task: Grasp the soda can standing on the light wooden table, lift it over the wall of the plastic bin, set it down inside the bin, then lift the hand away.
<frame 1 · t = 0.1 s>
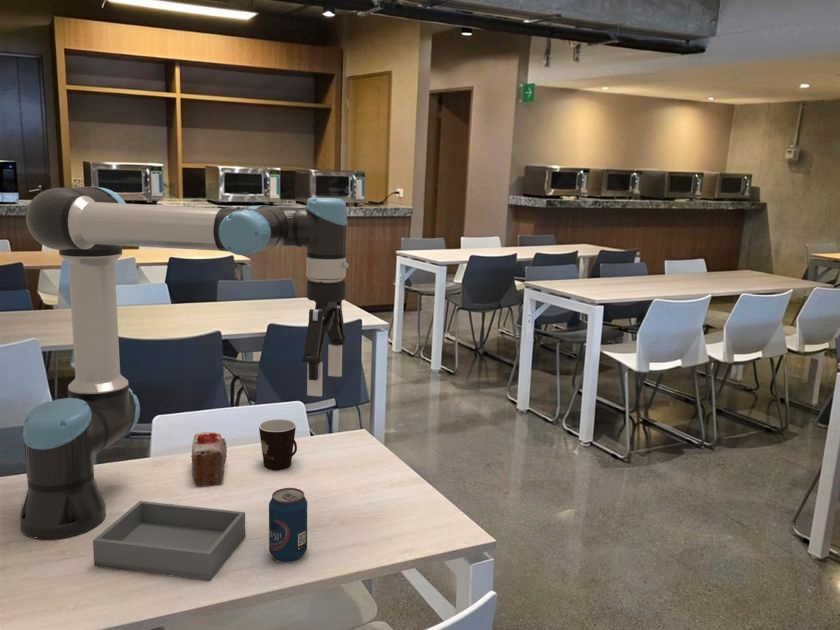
hand: (325, 385, 143), 28 cm above the table, tool pointing down, fingers open, 13 cm apart
coffee mug: (278, 468, 171), on the table
food item: (209, 475, 166), on the table
bin: (173, 550, 133), on the table
soda can: (288, 555, 133), on the table
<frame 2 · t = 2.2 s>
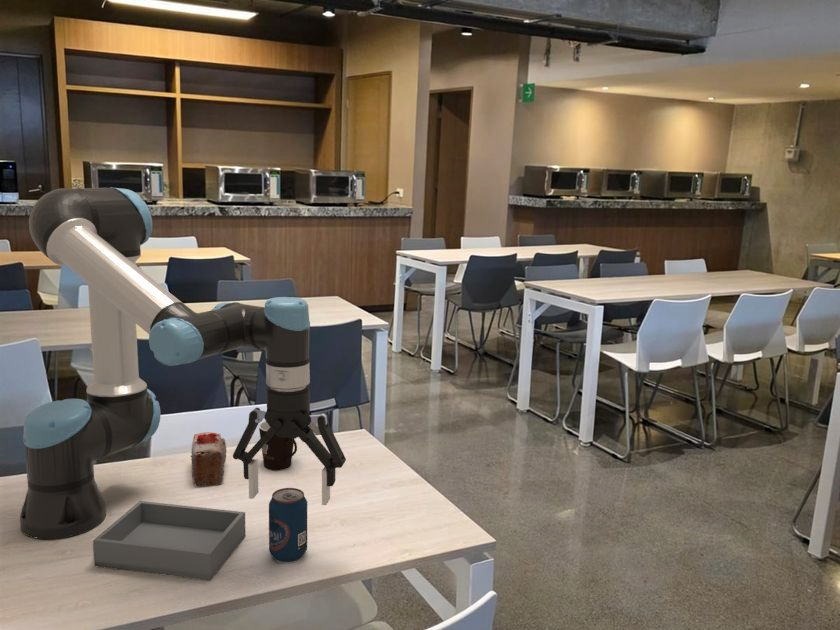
hand: (289, 498, 130), 11 cm above the table, tool pointing down, fingers open, 13 cm apart
nothing on the table moved.
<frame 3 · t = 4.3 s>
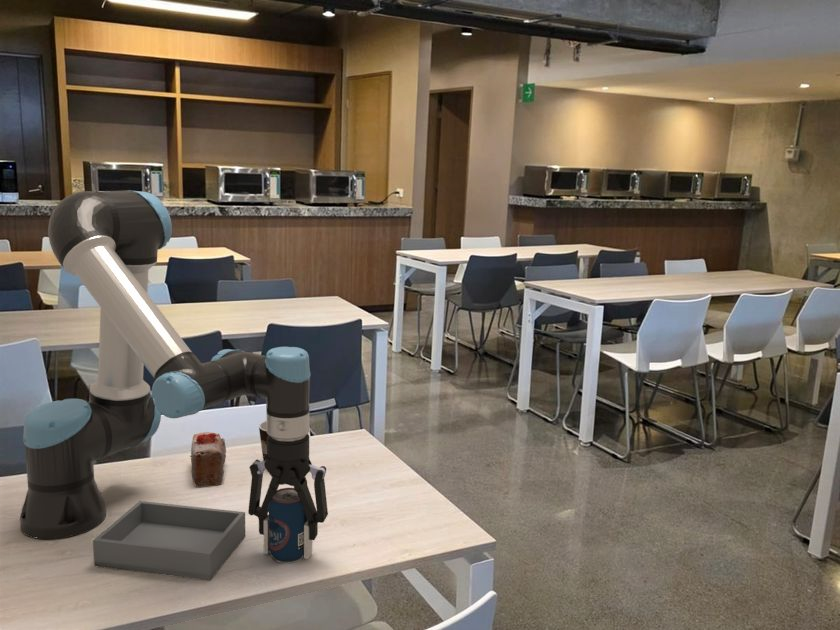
hand: (288, 552, 133), 1 cm above the table, tool pointing down, fingers closed on soda can, 7 cm apart
soda can: (288, 555, 133), on the table, touching gripper
everything else where it was.
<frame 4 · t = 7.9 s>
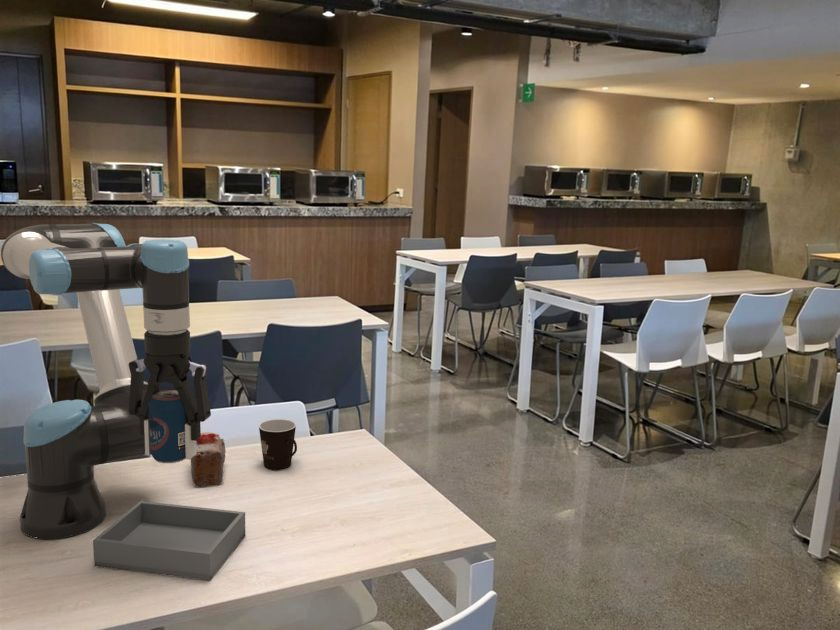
hand: (171, 454, 129), 19 cm above the table, tool pointing down, fingers closed on soda can, 7 cm apart
soda can: (171, 458, 129), point 18 cm above the table, touching gripper
everything else where it was.
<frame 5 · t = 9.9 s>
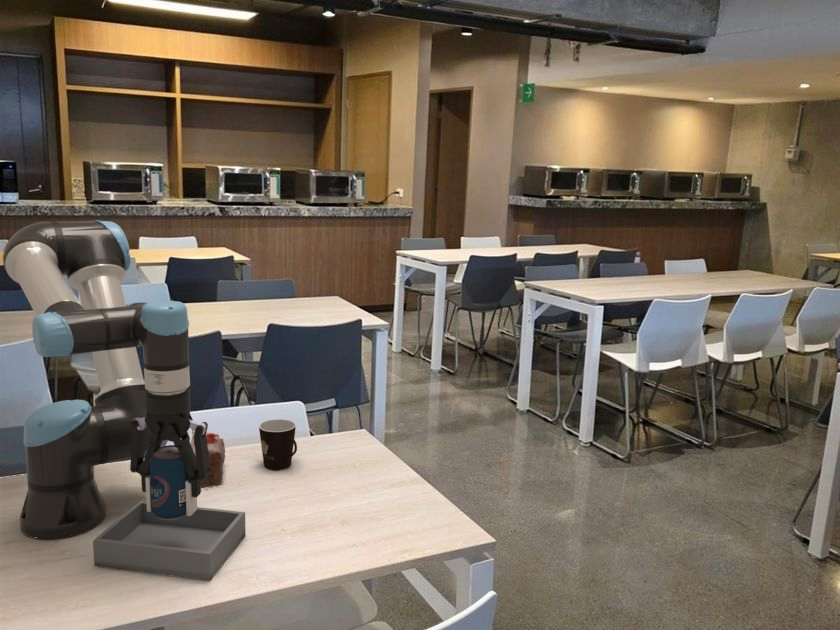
hand: (172, 510, 131), 8 cm above the table, tool pointing down, fingers closed on soda can, 7 cm apart
soda can: (172, 514, 131), point 7 cm above the table, touching gripper
everything else where it was.
when the fingers open (4 cm above the table, at t = 11.7 s): soda can drops 2 cm, resting on bin.
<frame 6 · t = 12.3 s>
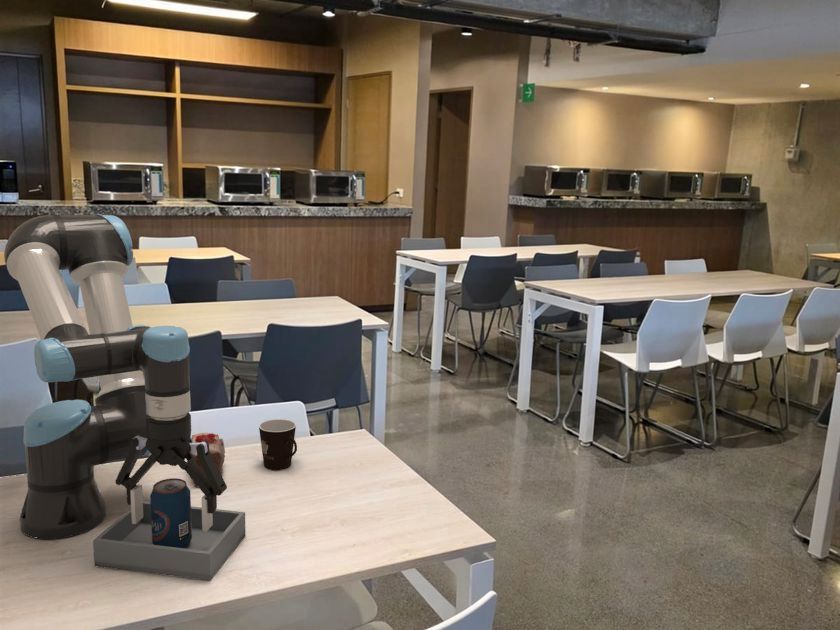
hand: (172, 524, 132), 5 cm above the table, tool pointing down, fingers open, 13 cm apart
soda can: (172, 546, 133), point 1 cm above the table, touching bin
everything else where it was.
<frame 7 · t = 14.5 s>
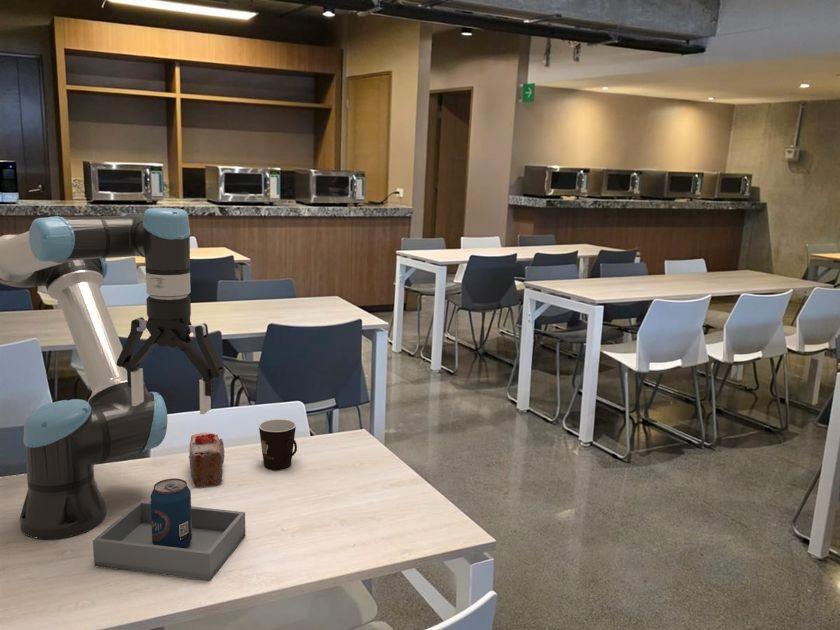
hand: (171, 407, 134), 25 cm above the table, tool pointing down, fingers open, 13 cm apart
nothing on the table moved.
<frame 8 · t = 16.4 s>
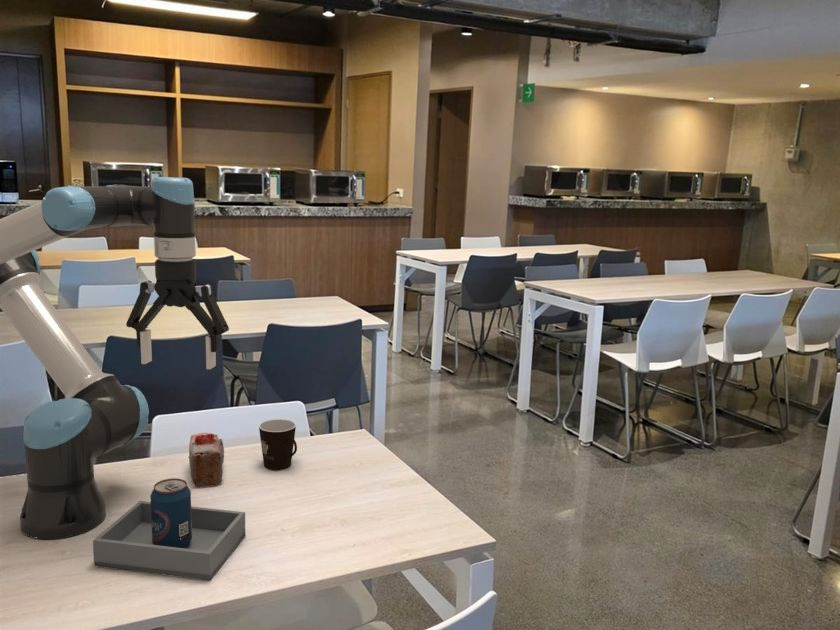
hand: (178, 365, 143), 31 cm above the table, tool pointing down, fingers open, 13 cm apart
nothing on the table moved.
at the end: soda can inside the target area on the bin (0.1 cm from its centre), point 0.8 cm above the bin's base; the gripper is holding nothing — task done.
